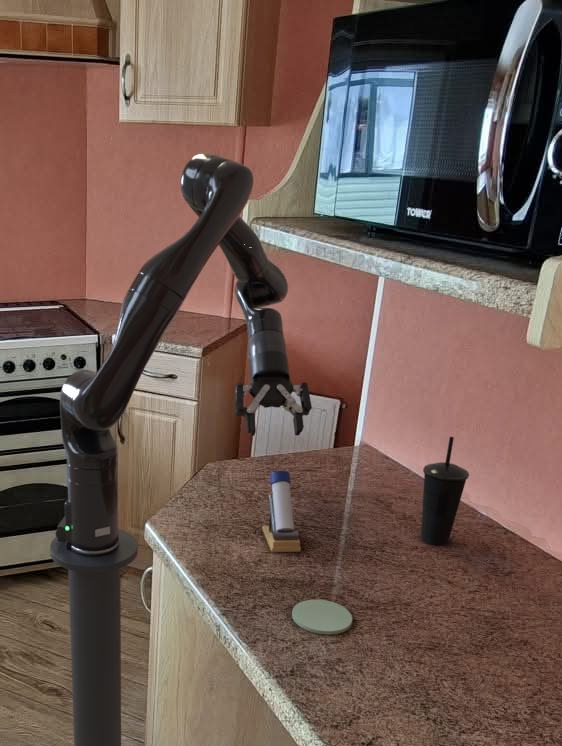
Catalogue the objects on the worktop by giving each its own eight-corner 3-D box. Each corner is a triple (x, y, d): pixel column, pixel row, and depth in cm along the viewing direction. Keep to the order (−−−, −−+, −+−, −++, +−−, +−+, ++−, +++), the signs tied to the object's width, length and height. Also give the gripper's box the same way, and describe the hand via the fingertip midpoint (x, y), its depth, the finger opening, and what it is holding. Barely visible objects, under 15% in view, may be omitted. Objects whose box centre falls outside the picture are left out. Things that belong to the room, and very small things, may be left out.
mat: (290, 630, 118) (291, 626, 118) (293, 599, 127) (293, 596, 126) (352, 638, 117) (353, 634, 116) (351, 606, 125) (351, 603, 124)
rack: (262, 529, 150) (264, 492, 147) (289, 529, 150) (292, 491, 147) (271, 552, 141) (274, 513, 138) (300, 551, 142) (304, 512, 139)
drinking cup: (465, 543, 145) (484, 440, 137) (434, 552, 142) (452, 447, 134) (434, 527, 151) (450, 427, 143) (404, 535, 148) (419, 433, 140)
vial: (265, 515, 151) (269, 465, 147) (284, 514, 151) (288, 465, 147) (276, 539, 141) (280, 487, 137) (296, 539, 141) (300, 487, 138)
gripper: (234, 349, 152) (241, 425, 145) (308, 349, 152) (317, 424, 146) (229, 369, 159) (235, 442, 152) (299, 368, 159) (308, 442, 153)
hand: (275, 433), depth 149 cm, fingers open, 8 cm apart
